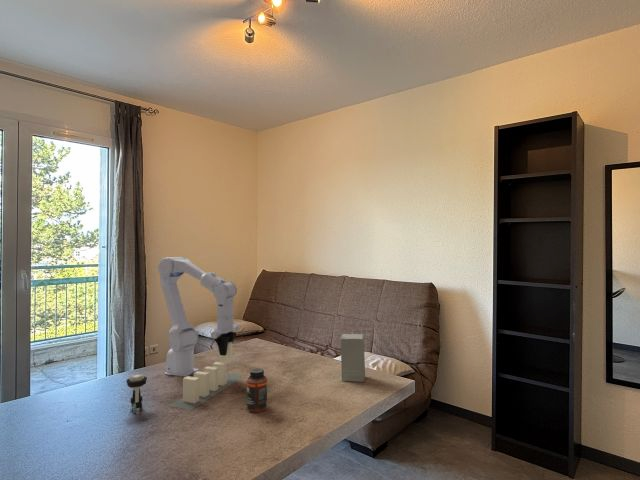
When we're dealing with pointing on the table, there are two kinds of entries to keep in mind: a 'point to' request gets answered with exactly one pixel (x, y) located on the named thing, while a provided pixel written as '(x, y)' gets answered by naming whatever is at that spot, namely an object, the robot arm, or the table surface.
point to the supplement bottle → (256, 391)
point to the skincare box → (352, 357)
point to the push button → (136, 390)
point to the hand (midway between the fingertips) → (225, 354)
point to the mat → (189, 406)
